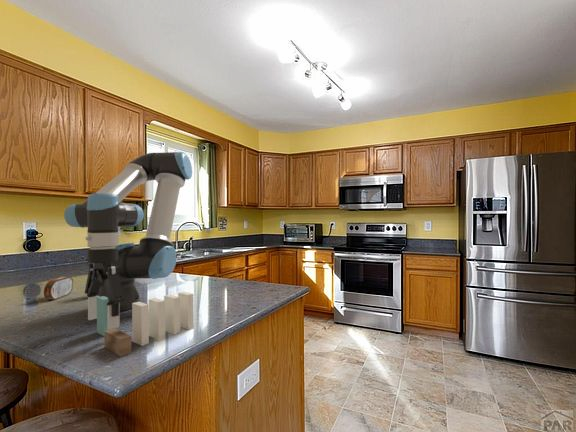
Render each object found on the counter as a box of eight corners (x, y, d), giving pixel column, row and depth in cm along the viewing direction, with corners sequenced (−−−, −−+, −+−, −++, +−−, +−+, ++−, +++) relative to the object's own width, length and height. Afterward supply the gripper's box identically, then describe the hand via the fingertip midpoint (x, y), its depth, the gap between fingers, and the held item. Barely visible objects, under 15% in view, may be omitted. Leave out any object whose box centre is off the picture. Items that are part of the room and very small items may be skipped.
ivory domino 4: (188, 329, 86) (187, 295, 86) (178, 326, 89) (178, 292, 89) (193, 327, 88) (193, 293, 88) (183, 324, 91) (183, 291, 91)
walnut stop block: (104, 347, 75) (104, 331, 75) (114, 343, 77) (114, 328, 77) (120, 356, 70) (120, 339, 70) (131, 352, 72) (131, 336, 72)
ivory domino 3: (174, 334, 83) (173, 298, 83) (164, 330, 86) (164, 295, 86) (180, 332, 84) (179, 297, 84) (170, 328, 87) (169, 294, 87)
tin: (67, 293, 134) (67, 274, 134) (74, 292, 134) (74, 274, 134) (42, 302, 119) (42, 281, 119) (51, 302, 119) (51, 281, 119)
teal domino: (104, 336, 82) (103, 300, 82) (96, 332, 85) (96, 297, 85) (111, 334, 84) (110, 298, 84) (103, 330, 87) (103, 296, 87)
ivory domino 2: (158, 340, 79) (158, 302, 79) (149, 335, 82) (148, 299, 82) (165, 337, 81) (164, 300, 81) (155, 333, 84) (155, 298, 84)
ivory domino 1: (141, 345, 76) (141, 306, 76) (132, 341, 79) (132, 303, 79) (148, 343, 77) (148, 304, 77) (139, 339, 80) (138, 301, 80)
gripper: (72, 247, 89) (72, 318, 89) (107, 250, 74) (107, 337, 74) (99, 245, 95) (100, 312, 95) (137, 248, 80) (137, 328, 80)
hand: (103, 323), depth 84 cm, fingers open, 13 cm apart
